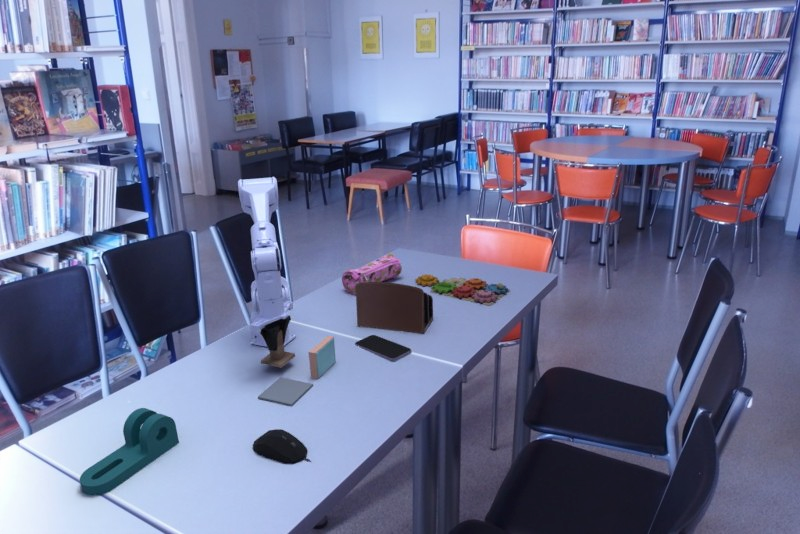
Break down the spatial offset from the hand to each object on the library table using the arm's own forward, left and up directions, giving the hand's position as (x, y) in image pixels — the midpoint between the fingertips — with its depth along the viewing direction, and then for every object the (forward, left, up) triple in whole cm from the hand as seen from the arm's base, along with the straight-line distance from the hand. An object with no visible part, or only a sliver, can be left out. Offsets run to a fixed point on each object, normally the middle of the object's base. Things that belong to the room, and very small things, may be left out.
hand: (276, 347), depth 142 cm
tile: (+11, +3, -6) cm, 13 cm away
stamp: (0, 0, -4) cm, 3 cm away
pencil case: (-1, +57, -6) cm, 58 cm away
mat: (+8, -9, -6) cm, 13 cm away
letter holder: (+17, +33, -6) cm, 38 cm away
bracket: (-6, -41, -6) cm, 42 cm away
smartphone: (+20, +18, -6) cm, 28 cm away
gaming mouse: (+20, -27, -6) cm, 35 cm away
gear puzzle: (+27, +64, -6) cm, 69 cm away
